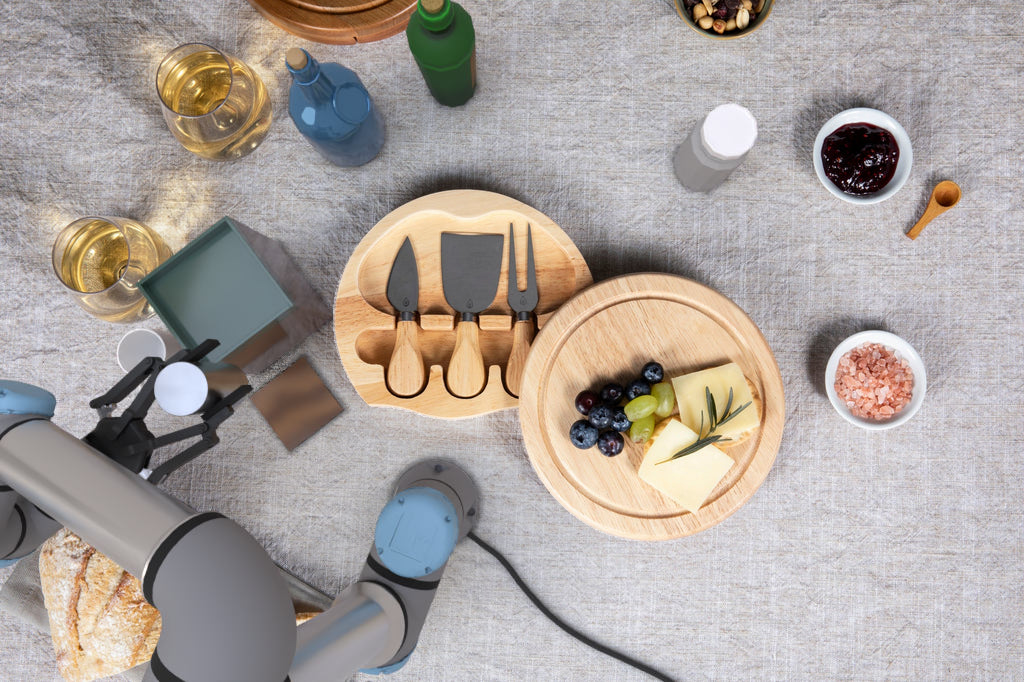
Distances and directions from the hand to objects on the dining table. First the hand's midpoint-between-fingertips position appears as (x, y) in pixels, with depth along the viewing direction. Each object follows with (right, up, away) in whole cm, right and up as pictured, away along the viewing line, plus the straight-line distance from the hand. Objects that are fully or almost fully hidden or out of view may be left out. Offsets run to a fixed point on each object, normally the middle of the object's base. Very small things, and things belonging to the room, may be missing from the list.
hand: (230, 364), depth 85 cm
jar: (+70, +34, +34) cm, 85 cm away
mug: (-24, -1, +34) cm, 42 cm away
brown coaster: (-2, -8, +33) cm, 34 cm away
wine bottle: (+7, +40, +36) cm, 54 cm away
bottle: (+25, +49, +36) cm, 66 cm away
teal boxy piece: (-8, +9, +34) cm, 36 cm away
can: (-4, -3, +7) cm, 9 cm away
